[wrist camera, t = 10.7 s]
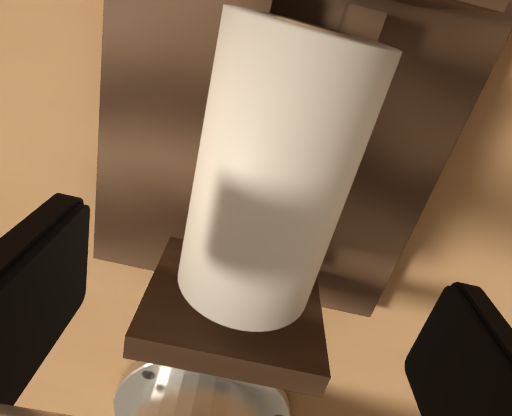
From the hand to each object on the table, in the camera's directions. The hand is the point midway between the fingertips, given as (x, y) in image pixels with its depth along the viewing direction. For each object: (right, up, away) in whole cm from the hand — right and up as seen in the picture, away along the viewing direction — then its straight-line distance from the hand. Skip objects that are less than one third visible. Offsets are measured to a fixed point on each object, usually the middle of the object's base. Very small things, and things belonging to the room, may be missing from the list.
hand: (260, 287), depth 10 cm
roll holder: (+1, +6, +9) cm, 11 cm away
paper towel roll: (+1, +3, +4) cm, 5 cm away
